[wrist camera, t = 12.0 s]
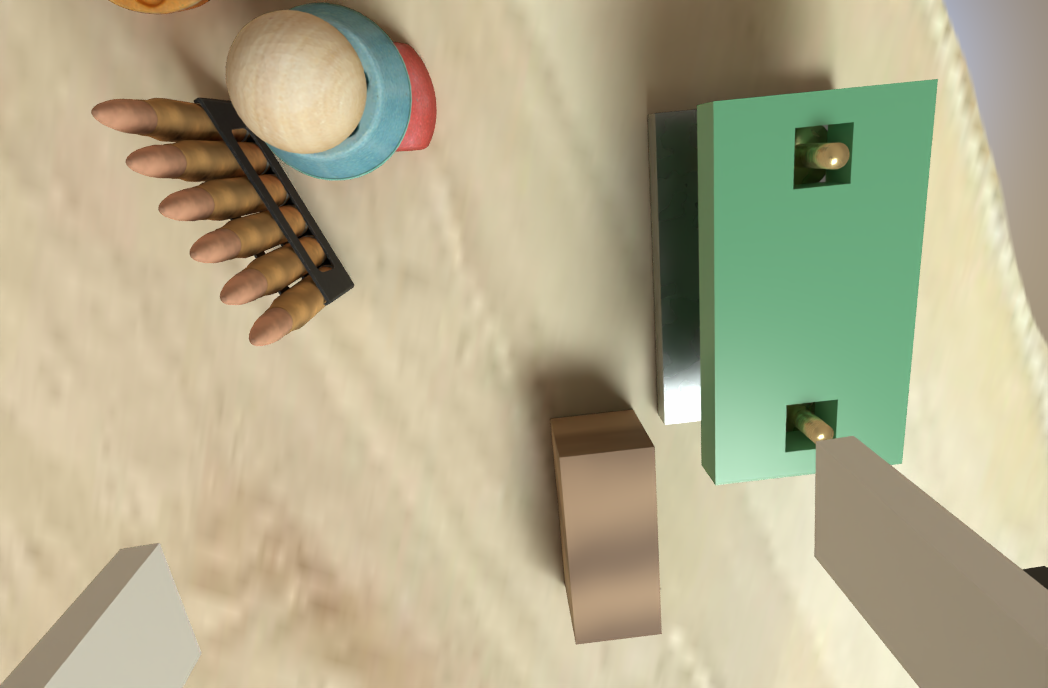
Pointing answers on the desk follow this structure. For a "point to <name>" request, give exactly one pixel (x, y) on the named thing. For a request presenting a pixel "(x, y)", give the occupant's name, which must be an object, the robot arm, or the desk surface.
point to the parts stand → (608, 525)
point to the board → (808, 274)
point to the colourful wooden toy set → (324, 87)
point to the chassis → (680, 259)
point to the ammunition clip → (235, 206)
